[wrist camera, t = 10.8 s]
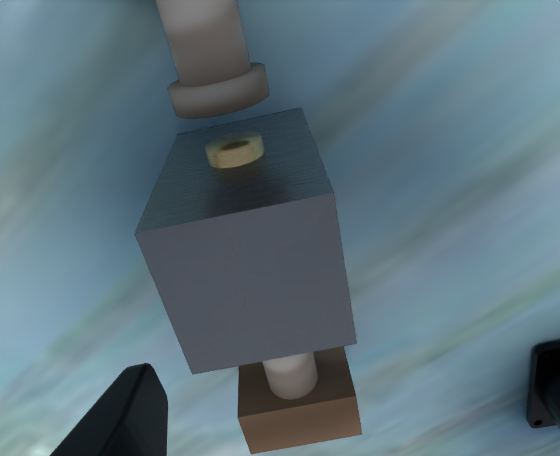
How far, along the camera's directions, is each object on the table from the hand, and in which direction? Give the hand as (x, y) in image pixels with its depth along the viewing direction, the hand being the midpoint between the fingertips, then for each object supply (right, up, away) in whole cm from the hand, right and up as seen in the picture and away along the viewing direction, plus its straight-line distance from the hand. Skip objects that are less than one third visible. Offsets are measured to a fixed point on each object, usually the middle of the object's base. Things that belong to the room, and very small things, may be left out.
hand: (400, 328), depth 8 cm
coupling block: (-3, +4, +11) cm, 12 cm away
